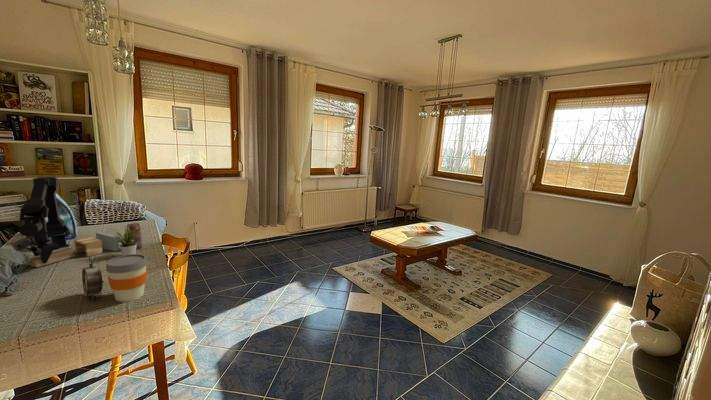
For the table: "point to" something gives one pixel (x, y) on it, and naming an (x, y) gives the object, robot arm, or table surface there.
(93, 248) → the block
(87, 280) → the alarm clock
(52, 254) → the peg
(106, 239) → the backstop
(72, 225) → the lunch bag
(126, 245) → the house plant
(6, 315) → the table surface
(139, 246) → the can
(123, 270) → the reusable coffee cup
